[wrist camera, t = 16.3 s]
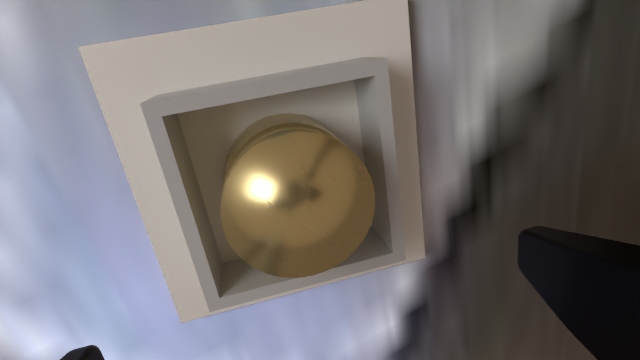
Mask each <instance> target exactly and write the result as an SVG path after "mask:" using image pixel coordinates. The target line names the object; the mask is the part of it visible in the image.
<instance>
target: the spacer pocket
mask: <svg viewBox="0 0 640 360" xmlns="http://www.w3.org/2000/svg"><path fill="white" fill-rule="evenodd" d="M78 48H79V51H80V53H81V56H82V59H83V61H84V64H85V67H86V69H87V72H88V75H89V77H90V80H91V83H92V85H93V88H94V91H95V93H96V96H97V99H98V101H99V104H100V107H101V109H102V112H103V115H104V118H105V120H106V123H107V126H108V128H109V131H110V134H111V136H112V139H113V142H114V144H115V147H116V150H117V152H118V155H119V158H120V160H121V163H122V166H123V168H124V171H125V174H126V176H127V179H128V182H129V184H130V187H131V190H132V192H133V195H134V198H135V201H136V203H137V206H138V209H139V211H140V214H141V217H142V219H143V222H144V225H145V227H146V230H147V233H148V235H149V238H150V241H151V243H152V246H153V249H154V251H155V254H156V257H157V259H158V262H159V265H160V267H161V270H162V273H163V275H164V278H165V281H166V284H167V286H168V289H169V292H170V294H171V297H172V300H173V302H174V305H175V308H176V310H177V313H178V316H179V318H180V321H181V323H183V322H187V321H191V320H195V319H198V318H202V317H206V316H210V315H213V314H217V313H221V312H224V311H228V310H232V309H236V308H239V307H243V306H247V305H251V304H254V303H258V302H262V301H266V300H269V299H273V298H277V297H281V296H284V295H288V294H292V293H296V292H299V291H303V290H307V289H311V288H314V287H318V286H322V285H326V284H329V283H333V282H337V281H341V280H344V279H348V278H352V277H356V276H359V275H363V274H367V273H371V272H374V271H378V270H382V269H386V268H389V267H393V266H397V265H401V264H404V263H408V262H412V261H415V260H419V259H423V258H425V245H424V231H423V216H422V202H421V187H420V173H419V158H418V144H417V129H416V115H415V100H414V86H413V71H412V57H411V42H410V28H409V13H408V0H365V1H359V2H353V3H347V4H341V5H334V6H328V7H322V8H316V9H310V10H304V11H297V12H291V13H285V14H279V15H273V16H266V17H260V18H254V19H248V20H242V21H235V22H229V23H223V24H217V25H211V26H205V27H198V28H192V29H186V30H180V31H174V32H167V33H161V34H155V35H149V36H143V37H136V38H130V39H124V40H118V41H112V42H106V43H99V44H93V45H87V46H81V47H78ZM281 113H292V114H299V115H303V116H306V117H309V118H311V119H313V120H315V121H317V122H318V123H320V124H321V125H323V126H324V127H325V128H326V129H328V130H329V131H330V132H331V133H332V134H333V135H334V136H336V137H337V138H338V139H339V140H340V141H341V142H342V143H344V144H345V145H346V146H347V147H348V148H349V149H350V150H352V151H353V152H354V153H355V154H356V155H357V156H358V157H359V158H360V160H361V161H362V162H363V164H364V165H365V167H366V168H367V170H368V172H369V174H370V176H371V179H372V182H373V186H374V191H375V211H374V216H373V220H372V223H371V226H370V228H369V231H368V233H367V235H366V236H365V238H364V240H363V241H362V243H361V244H360V245H359V247H358V248H357V249H356V250H355V251H354V252H353V253H352V254H351V255H350V256H349V257H348V258H347V259H345V260H344V261H343V262H341V263H340V264H338V265H337V266H335V267H333V268H332V269H329V270H327V271H325V272H323V273H319V274H316V275H313V276H308V277H301V278H284V277H277V276H273V275H269V274H266V273H264V272H261V271H259V270H257V269H255V268H253V267H252V266H250V265H249V264H247V263H246V262H245V261H243V260H242V259H241V258H240V257H239V256H238V255H237V254H236V252H235V251H234V250H233V248H232V247H231V246H230V244H229V242H228V240H227V238H226V236H225V233H224V230H223V227H222V222H221V210H220V209H221V199H222V191H223V182H224V174H225V166H226V160H227V156H228V153H229V151H230V148H231V146H232V145H233V143H234V141H235V140H236V138H237V137H238V136H239V134H240V133H241V132H242V131H243V130H244V129H245V128H247V127H248V126H249V125H251V124H252V123H254V122H256V121H257V120H259V119H262V118H264V117H267V116H270V115H274V114H281Z"/></svg>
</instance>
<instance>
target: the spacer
mask: <svg viewBox="0 0 640 360" xmlns="http://www.w3.org/2000/svg"><path fill="white" fill-rule="evenodd" d="M220 210H221V222H222V227H223V230H224V233H225V236H226V238H227V240H228V242H229V244H230V246H231V247H232V248H233V250H234V251H235V252H236V254H237V255H238V256H239V257H240V258H241V259H242V260H243V261H245V262H246V263H247V264H249V265H250V266H252V267H253V268H255V269H257V270H259V271H261V272H264V273H266V274H269V275H273V276H277V277H284V278H301V277H308V276H313V275H316V274H319V273H323V272H325V271H327V270H329V269H332V268H333V267H335V266H337V265H338V264H340V263H341V262H343V261H344V260H345V259H347V258H348V257H349V256H350V255H351V254H352V253H353V252H354V251H355V250H356V249H357V248H358V247H359V245H360V244H361V243H362V241H363V240H364V238H365V236H366V235H367V233H368V231H369V228H370V226H371V223H372V220H373V216H374V211H375V191H374V186H373V182H372V179H371V176H370V174H369V172H368V170H367V168H366V167H365V165H364V164H363V162H362V161H361V160H360V158H359V157H358V156H357V155H356V154H355V153H354V152H353V151H352V150H350V149H349V148H348V147H347V146H346V145H345V144H344V143H342V142H341V141H340V140H339V139H338V138H337V137H336V136H334V135H333V134H332V133H331V132H330V131H329V130H328V129H326V128H325V127H324V126H323V125H321V124H320V123H318V122H317V121H315V120H313V119H311V118H309V117H306V116H303V115H299V114H292V113H281V114H274V115H270V116H267V117H264V118H262V119H259V120H257V121H256V122H254V123H252V124H251V125H249V126H248V127H247V128H245V129H244V130H243V131H242V132H241V133H240V134H239V136H238V137H237V138H236V140H235V141H234V143H233V145H232V146H231V148H230V151H229V153H228V156H227V160H226V166H225V174H224V182H223V191H222V199H221V209H220Z"/></svg>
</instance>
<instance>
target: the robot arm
mask: <svg viewBox="0 0 640 360" xmlns="http://www.w3.org/2000/svg"><path fill="white" fill-rule="evenodd" d="M517 262H518V266H519V269H520V271H521V272H522V274H523V275H524V276H525V278H526V279H527V280H528V281H529V282H530V284H531V285H532V286H533V287H534V289H535V290H536V291H537V292H538V293H539V295H540V296H541V297H542V298H543V300H544V301H545V302H546V303H547V304H548V306H549V307H550V308H551V309H552V311H553V312H554V313H555V314H556V315H557V317H558V318H559V319H560V320H561V321H562V323H563V324H564V325H565V326H566V327H567V328H568V330H569V331H570V332H571V333H572V334H573V335H574V336H575V337H576V338H577V339H578V340H579V341H580V342H581V343H582V344H583V345H584V346H585V347H586V348H587V349H588V350H589V351H590V352H591V353H592V354H593V355H594V357H595V358H596V359H597V360H640V246H639V245H634V244H629V243H624V242H619V241H614V240H608V239H603V238H598V237H593V236H588V235H583V234H578V233H573V232H568V231H562V230H557V229H552V228H547V227H542V226H535V227H531V228H528V229H524V230H522V231H521V232H520V233H519V235H518V258H517ZM60 360H105V359H104V357H103V355H102V353H101V351H100V350H99V348H98V347H97V346H95V345H89V346H86V347H82V348H78V349H74V350H72V351H70V352H68V353H67V354H66V355H65V356H64V357H62V358H61V359H60Z"/></svg>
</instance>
